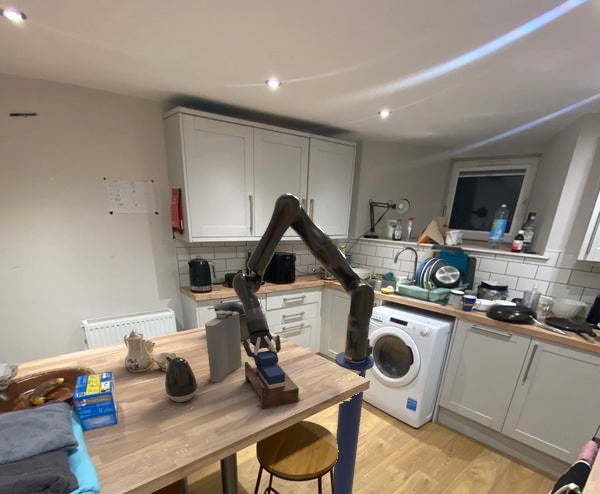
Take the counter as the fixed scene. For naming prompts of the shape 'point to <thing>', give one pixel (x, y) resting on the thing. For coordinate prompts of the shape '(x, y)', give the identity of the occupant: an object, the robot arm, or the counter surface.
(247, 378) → the shoe shelf
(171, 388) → the dark brown tall dome
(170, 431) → the counter surface
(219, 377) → the flask
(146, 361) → the chinaware
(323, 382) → the counter surface
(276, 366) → the trainer
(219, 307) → the storage bin
